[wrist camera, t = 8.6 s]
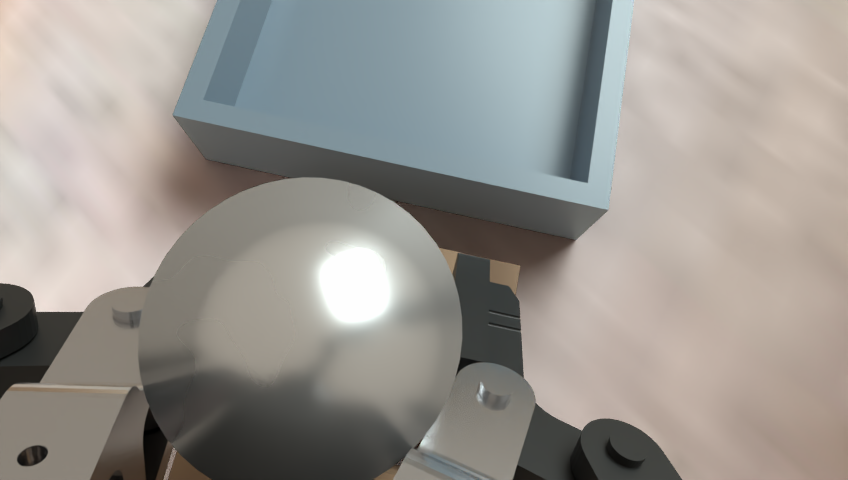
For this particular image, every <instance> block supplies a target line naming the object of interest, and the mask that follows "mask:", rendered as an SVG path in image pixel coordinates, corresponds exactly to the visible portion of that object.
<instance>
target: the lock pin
mask: <svg viewBox="0 0 848 480" xmlns="http://www.w3.org/2000/svg"><path fill="white" fill-rule="evenodd" d="M461 345H462V314H461V307H460V300H459V295H458V292H457V288H456V285H455V281H454V278H453V275H452V273H451V271H450V268H449V266H448V264H447V261H446V259H445V258H444V256H443V254H442V252H441V251H440V249H439V247H438V246H437V244H436V242H435V241H434V240H433V239H432V237H431V236H430V235H429V234H428V232H427V231H426V230H425V229H424V227H423V226H422V225H421V224H420V223H419V222H418V221H417V220H416V219H414V218H413V217H412V216H411V215H410V214H409V213H408V212H407V211H405V210H404V209H403V208H401V207H400V206H399V205H397V204H396V203H395V202H393V201H391V200H389V199H388V198H386V197H384V196H382V195H381V194H379V193H377V192H374V191H372V190H369V189H367V188H365V187H362V186H360V185H356V184H352V183H349V182H345V181H341V180H334V179H327V178H308V177H301V178H291V179H282V180H278V181H273V182H269V183H264V184H261V185H258V186H255V187H253V188H250V189H247V190H244V191H242V192H240V193H238V194H236V195H234V196H232V197H230V198H228V199H226V200H224V201H223V202H221V203H220V204H218V205H217V206H215V207H213V208H212V209H210V210H209V211H208V212H206V213H205V214H204V215H203V216H202V217H200V218H199V219H198V220H197V221H195V222H194V223H193V224H192V225H191V226H190V227H189V228H188V229H187V230H186V231H185V232H184V233H183V234H182V236H181V237H180V238H179V239H178V240H177V241H176V243H175V244H174V245H173V247H172V248H171V249H170V251H169V252H168V253H167V255H166V256H165V258H164V260H163V261H162V263H161V265H160V267H159V268H158V270H157V272H156V274H155V276H154V278H153V281H152V283H151V285H150V288H149V290H148V292H147V295H146V299H145V303H144V306H143V310H142V313H141V319H140V326H139V333H138V362H139V370H140V378H141V382H142V386H143V389H144V393H145V397H146V400H147V402H148V405H149V407H150V409H151V412H152V414H153V416H154V419H155V421H156V422H157V424H158V425H159V427H160V429H161V430H162V432H163V434H164V435H165V437H166V438H167V440H168V441H169V442H170V443H171V444H172V446H173V447H174V448H175V449H176V450H177V452H178V453H179V454H180V455H181V456H182V457H183V458H184V459H185V460H187V461H188V462H189V463H190V464H191V465H192V466H193V467H194V468H196V469H197V470H198V471H200V472H201V473H203V474H204V475H206V476H207V477H209V478H210V479H212V480H373V479H374V478H376V477H378V476H379V475H381V474H383V473H384V472H386V471H387V470H389V469H390V468H392V467H393V466H394V465H395V464H396V463H398V462H399V461H400V460H401V459H403V458H404V457H405V456H406V455H407V454H408V452H409V451H410V450H411V449H412V448H414V447H415V446H416V445H417V444H418V443H419V442H420V441H421V440H422V439H423V437H424V436H425V435H426V433H427V432H428V430H429V429H430V428H431V426H432V425H433V424H434V422H435V421H436V419H437V417H438V416H439V414H440V412H441V410H442V408H443V406H444V405H445V403H446V401H447V399H448V396H449V393H450V391H451V388H452V386H453V383H454V381H455V377H456V373H457V369H458V365H459V361H460V354H461Z"/></svg>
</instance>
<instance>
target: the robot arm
mask: <svg viewBox="0 0 848 480" xmlns="http://www.w3.org/2000/svg"><path fill="white" fill-rule="evenodd" d="M452 275H453V278H454V281H455V285H456V288H457V292H458V295H459V300H460V307H461V314H462V345H461V354H460V361H459V365H458V369H457V373H456V377H455V381H454V383H453V386H452V388H451V391H450V393H449V396H448V399H447V401H446V403H445V405H444V406H443V408H442V410H441V412H440V414H439V416H438V417H437V419H436V421H435V422H434V424H433V425H432V426H431V428H430V429H429V430H428V432H427V433H426V435H425V436H424V437H423V440H422V442H421V444H420V446H419V448H418V449H414V448H412V449H411V450H410V451H409V452H408V454H407V455H406V457H405V458H404V460H403V462H402V464H401V466H400V467H399V469H398V471H397V473H396V475H395V477H394V478H393V480H682V479H681V477H680V476H679V474H678V473H677V471H676V470H675V468H674V467H673V466H672V464H671V463H670V461H669V460H668V458H667V457H666V455H665V454H664V452H663V451H662V450H661V448H660V447H659V446H658V445H657V444H656V443H655V442H654V441H653V439H651V438H650V437H649V436H648V435H647V434H645V433H644V432H642V431H641V430H639V429H638V428H636V427H634V426H632V425H630V424H627V423H625V422H622V421H619V420H614V419H597V420H594V421H591V422H590V423H588V424H587V425H586V426H585V427H584V429H583V430H582V431H581V430H579V429H577V428H575V427H573V426H571V425H569V424H567V423H564V422H562V421H560V420H558V419H556V418H555V417H553V416H551V415H550V414H548V413H547V412H545V411H544V410H543V409H542V408H540V407H539V406H538V405H537V404H536V401H535V395H534V392H533V390H532V388H531V386H530V385H529V384H528V382H527V381H526V380H525V379H524V375H523V358H522V341H521V332H520V330H521V324H520V308H519V300H518V299H517V297H516V296H515V294H514V293H513V291H512V290H511V288H510V287H509V286H507V285H502V284H498V283H493V282H490V259H486V258H481V257H477V256H472V255H468V254H463V253H458V254H457V258H456V262H455V266H454V270H453V274H452ZM153 278H154V277H153ZM153 278H152V279H151V280H150V281H149V282H148V283H147V284H146V285H144V286H143V287H127V288H121V289H117V290H113V291H110V292H107V293H105V294H103V295H101V296H99V297H98V298H96V299H94V300H93V301H92V302H91V303H90V304H89V305H88V307H87V308H86V309H85V311H84V312H36V308H35V303H34V298H33V296H32V294H31V293H30V292H29V291H28V290H26V289H24V288H22V287H20V286H16V285H11V284H1V283H0V480H163V479H164V475H165V472H166V469H167V465H168V462H169V459H170V455H171V452H172V449H173V446H172V444H171V443H170V442H169V441H168V440H167V438H166V437H165V435H164V434H163V432H162V430H161V429H160V427H159V425H158V424H157V422H156V421H155V419H154V416H153V414H152V412H151V409H150V407H149V405H148V402H147V400H146V397H145V393H144V389H143V386H142V382H141V378H140V370H139V362H138V333H139V326H140V319H141V313H142V310H143V306H144V303H145V299H146V295H147V292H148V290H149V288H150V285H151V283H152V281H153Z"/></svg>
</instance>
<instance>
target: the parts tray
mask: <svg viewBox="0 0 848 480" xmlns="http://www.w3.org/2000/svg"><path fill="white" fill-rule="evenodd" d="M633 5H634V0H217V3H216V5H215V8H214V10H213V13H212V15H211V18H210V20H209V23H208V26H207V28H206V31H205V33H204V36H203V38H202V41H201V43H200V46H199V49H198V51H197V54H196V56H195V59H194V61H193V64H192V66H191V69H190V72H189V74H188V77H187V79H186V82H185V84H184V87H183V89H182V92H181V95H180V97H179V100H178V102H177V105H176V107H175V110H174V113H173V117H174V118H175V119H176V121H177V122H178V123H179V124H180V126H181V127H182V128H183V130H184V131H185V132H186V134H187V135H188V136H189V138H190V139H191V140H192V141H193V143H194V144H195V145H196V147H197V148H198V149H199V151H200V152H201V153H202V155H203V156H204V157H205V159H207V160H212V161H216V162H221V163H225V164H230V165H235V166H239V167H244V168H248V169H253V170H258V171H262V172H267V173H271V174H276V175H280V176H285V177H290V178H301V177H308V178H327V179H334V180H341V181H345V182H349V183H352V184H356V185H360V186H362V187H365V188H367V189H369V190H372V191H374V192H377V193H379V194H381V195H382V196H384V197H386V198H388V199H390V200H395V201H399V202H404V203H409V204H413V205H418V206H422V207H427V208H432V209H436V210H441V211H445V212H450V213H454V214H459V215H464V216H468V217H473V218H477V219H482V220H486V221H491V222H496V223H500V224H505V225H509V226H514V227H519V228H523V229H528V230H532V231H537V232H541V233H546V234H551V235H555V236H560V237H564V238H569V239H573V240H576V239H578V238H579V237H580V236H581V235H582V234H583V233H584V232H585V231H586V230H587V229H588V228H589V227H591V226H592V225H593V224H594V223H595V222H596V221H597V220H598V219H599V218H600V217H601V216H602V215H604V214H605V213H606V212H607V211H608V209H609V201H610V193H611V185H612V176H613V168H614V160H615V152H616V144H617V136H618V128H619V119H620V111H621V103H622V95H623V87H624V79H625V71H626V62H627V54H628V46H629V38H630V30H631V22H632V14H633Z"/></svg>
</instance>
